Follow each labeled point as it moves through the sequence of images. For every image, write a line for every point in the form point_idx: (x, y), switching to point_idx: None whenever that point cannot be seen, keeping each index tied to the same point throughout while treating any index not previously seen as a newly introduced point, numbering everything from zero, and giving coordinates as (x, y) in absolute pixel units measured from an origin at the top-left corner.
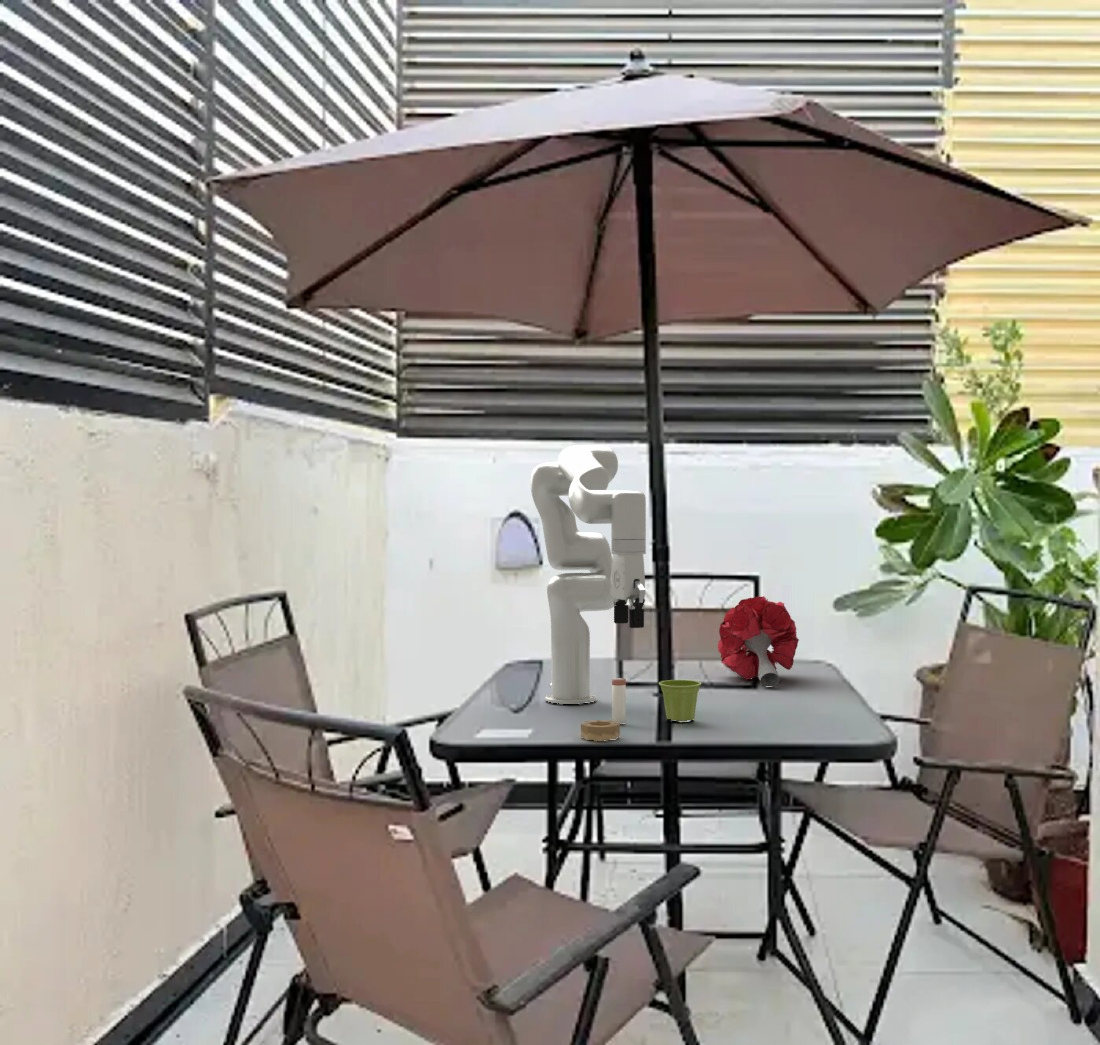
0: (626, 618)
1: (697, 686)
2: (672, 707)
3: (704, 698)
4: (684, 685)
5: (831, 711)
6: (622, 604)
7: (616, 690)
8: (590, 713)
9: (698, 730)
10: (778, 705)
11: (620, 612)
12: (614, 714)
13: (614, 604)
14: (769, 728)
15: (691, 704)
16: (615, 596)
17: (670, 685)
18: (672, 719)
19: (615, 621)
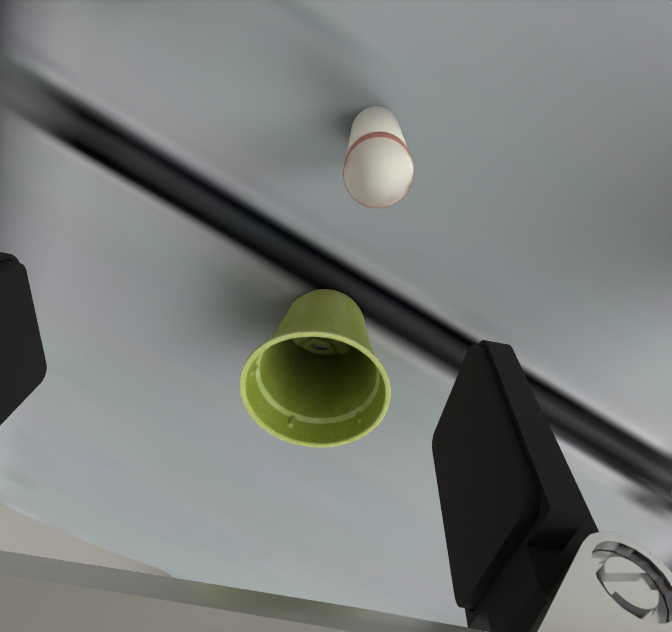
0: (440, 463)
1: (258, 412)
2: (297, 310)
3: None
4: (358, 418)
5: (282, 580)
6: (502, 600)
7: (357, 135)
8: (617, 150)
9: (183, 290)
10: (386, 559)
11: (477, 473)
12: (367, 113)
13: (626, 550)
14: (157, 426)
15: (271, 359)
16: (162, 624)
17: (381, 386)
18: (308, 294)
19: (477, 350)
